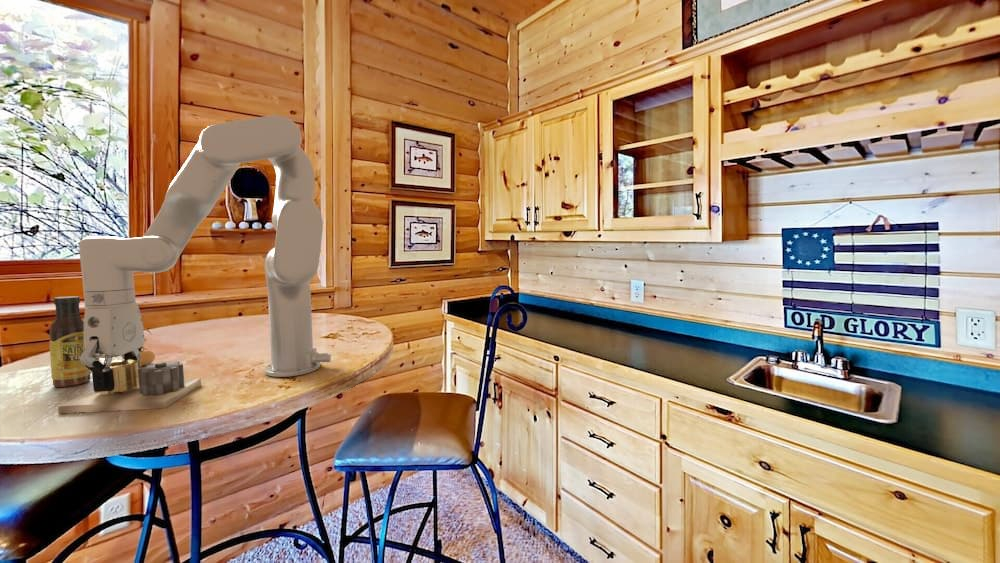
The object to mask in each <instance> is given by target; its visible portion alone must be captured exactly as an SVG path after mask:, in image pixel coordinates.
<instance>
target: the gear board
mask: <svg viewBox="0 0 1000 563" xmlns="http://www.w3.org/2000/svg"><path fill="white" fill-rule="evenodd" d="M184 374H185V373H184V363H180V361H171V362H167V361H161V362H157V363H153V364H148V365H144V367H140V369H138V378H139V387H137V388H131V389H128V390H127V391H123V392H114V393H113V392H112V393H109V394H102V393H94V389H93V390H91V391H88V392H86V393H84V394H82V395H80V396H78V397H75V398H73V399H72V400H71V399H70V400H69V401H67V402H64V403H62V404H61V405H57V411H58V414H59V415H61V414H60V413H68V414H80V413H79V412H85V413H96V412H97V413H100V412H101V411H102V412H116V411H117V412H118V410H121V411H132V410H133V411H134V410H139V411H140V410H148V409H149V410H152V409H153V410H156V409H167V408H168V407H169V406H171V405H172V404H174V403H175V402H178V400H181V399H182V398H183V397H185V396H186V395H188V394H189V393H191V392H193V391H194V390H196V389H197V388H199V387H200V386H202V380H201V378H185V377H184V376H185V375H184ZM72 412H73V413H72ZM74 412H76V413H74Z"/></svg>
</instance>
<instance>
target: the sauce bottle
mask: <svg viewBox="0 0 1000 563" xmlns="http://www.w3.org/2000/svg"><path fill="white" fill-rule="evenodd" d="M80 303H81V300H80V296H78V295H76V296H74V295H73V296H71V295H70V296H57V297H54V298H53V304H54V305H55V319H54V321H53V322H52V323H51V325H50V328H49V341H48V342H49V354H50V372H51V373H50V374H51V380H52V386H53V387H56V388H67V387H73V386H78V385H82V384H85V383H88V382H90V380H91V375H92V373H90V372H89V369H88V368H87V367H86V366H85V364H84V363H82V362H81V361H80V359H79V358H80V356H81V354H82V353H83V351H84V350H85V346H84V320H83V319H82V317H81V312H80Z"/></svg>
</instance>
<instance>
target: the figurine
mask: <svg viewBox="0 0 1000 563" xmlns="http://www.w3.org/2000/svg"><path fill="white" fill-rule="evenodd" d="M143 330H144V331H146V332H147V333H149V334H150V335H151V336H152V335H153V333H152V332H151V331H150V330H149V329H148V328H146V327H145V326H144V325H143ZM144 338H145V337H144ZM145 342H147V338H145ZM140 354H141V357H140V358H139V360H140V366H147V365H151V364H152V363H153V362H154V361H155V358H156V355H155V353H154V352H153V351H152V350H150V349H148V348H146V347H144V345H143V346H142V349H141V351H140Z"/></svg>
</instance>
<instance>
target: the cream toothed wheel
mask: <svg viewBox="0 0 1000 563" xmlns="http://www.w3.org/2000/svg"><path fill="white" fill-rule="evenodd" d="M102 364H104V362H103V363H102ZM138 369H141V365H140V360H131V359H120V360H116V359H115V360H112V362H111V366H110V370H109V371H111V370H113V379H114V390H112V391H102V392H95V391H94V393H102V394H109V393H112V392H113V393H114V392H123V391H127V390H128V389H131V388H137V387H139V378H138Z"/></svg>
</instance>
